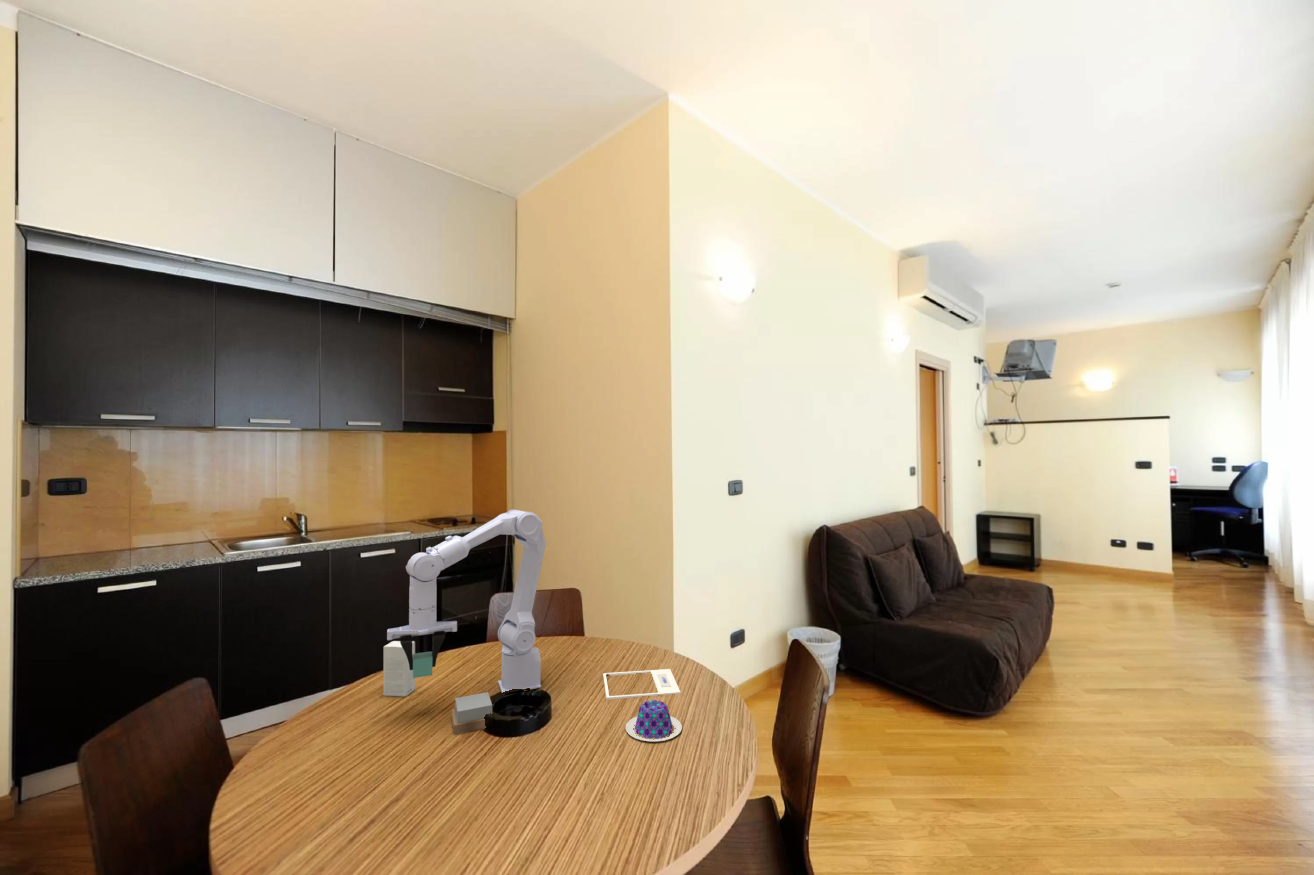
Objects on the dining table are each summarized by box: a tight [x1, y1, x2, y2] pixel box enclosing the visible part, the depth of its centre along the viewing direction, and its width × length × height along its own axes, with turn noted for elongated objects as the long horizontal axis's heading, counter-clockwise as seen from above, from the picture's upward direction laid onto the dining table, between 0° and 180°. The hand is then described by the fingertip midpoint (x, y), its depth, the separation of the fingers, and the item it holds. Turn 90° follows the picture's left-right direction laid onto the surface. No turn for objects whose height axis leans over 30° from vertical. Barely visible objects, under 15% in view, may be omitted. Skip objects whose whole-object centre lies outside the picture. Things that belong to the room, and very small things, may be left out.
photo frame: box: [602, 668, 681, 701], centre depth 139 cm, size 15×1×18 cm
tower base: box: [451, 708, 486, 736], centre depth 120 cm, size 8×8×2 cm
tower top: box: [454, 691, 493, 723], centre depth 120 cm, size 7×7×2 cm
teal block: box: [413, 650, 433, 679], centre depth 124 cm, size 4×4×4 cm
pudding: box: [625, 699, 683, 742], centre depth 117 cm, size 12×12×5 cm
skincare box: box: [382, 640, 416, 697], centre depth 135 cm, size 6×4×12 cm
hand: (422, 666), depth 124 cm, fingers closed on teal block, 4 cm apart
